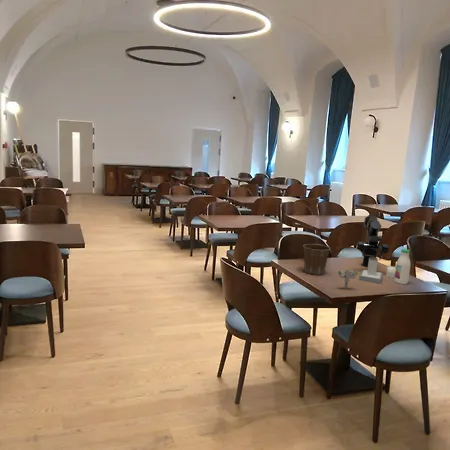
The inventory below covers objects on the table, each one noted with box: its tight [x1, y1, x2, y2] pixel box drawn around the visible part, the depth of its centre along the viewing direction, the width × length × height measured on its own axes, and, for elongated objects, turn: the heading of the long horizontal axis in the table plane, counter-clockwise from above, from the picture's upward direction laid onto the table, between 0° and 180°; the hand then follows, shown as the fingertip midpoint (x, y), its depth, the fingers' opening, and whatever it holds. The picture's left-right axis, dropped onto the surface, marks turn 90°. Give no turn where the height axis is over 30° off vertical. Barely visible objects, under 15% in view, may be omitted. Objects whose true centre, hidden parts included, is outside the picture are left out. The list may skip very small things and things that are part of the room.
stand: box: [358, 269, 384, 285], centre depth 264 cm, size 16×12×3 cm
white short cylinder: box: [385, 265, 396, 279], centre depth 271 cm, size 6×6×6 cm
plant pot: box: [302, 243, 331, 276], centre depth 268 cm, size 16×16×16 cm
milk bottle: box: [393, 248, 411, 285], centre depth 259 cm, size 8×8×20 cm
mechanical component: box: [337, 270, 358, 290], centre depth 240 cm, size 3×10×10 cm, turn 95°
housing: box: [367, 256, 379, 276], centre depth 263 cm, size 6×4×10 cm
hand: (372, 258), depth 270 cm, fingers open, 9 cm apart
